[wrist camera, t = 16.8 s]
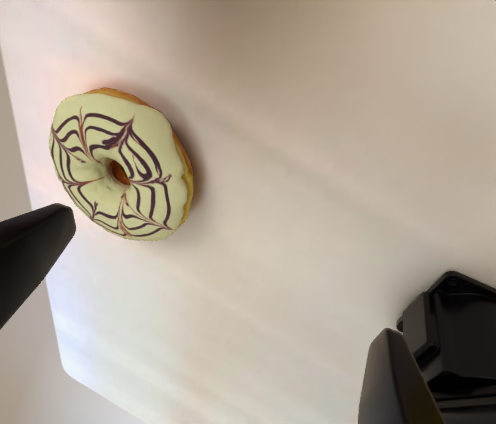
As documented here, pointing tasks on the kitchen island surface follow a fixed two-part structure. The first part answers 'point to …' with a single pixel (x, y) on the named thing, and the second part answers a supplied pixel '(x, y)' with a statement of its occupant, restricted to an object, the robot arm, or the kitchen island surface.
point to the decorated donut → (129, 156)
